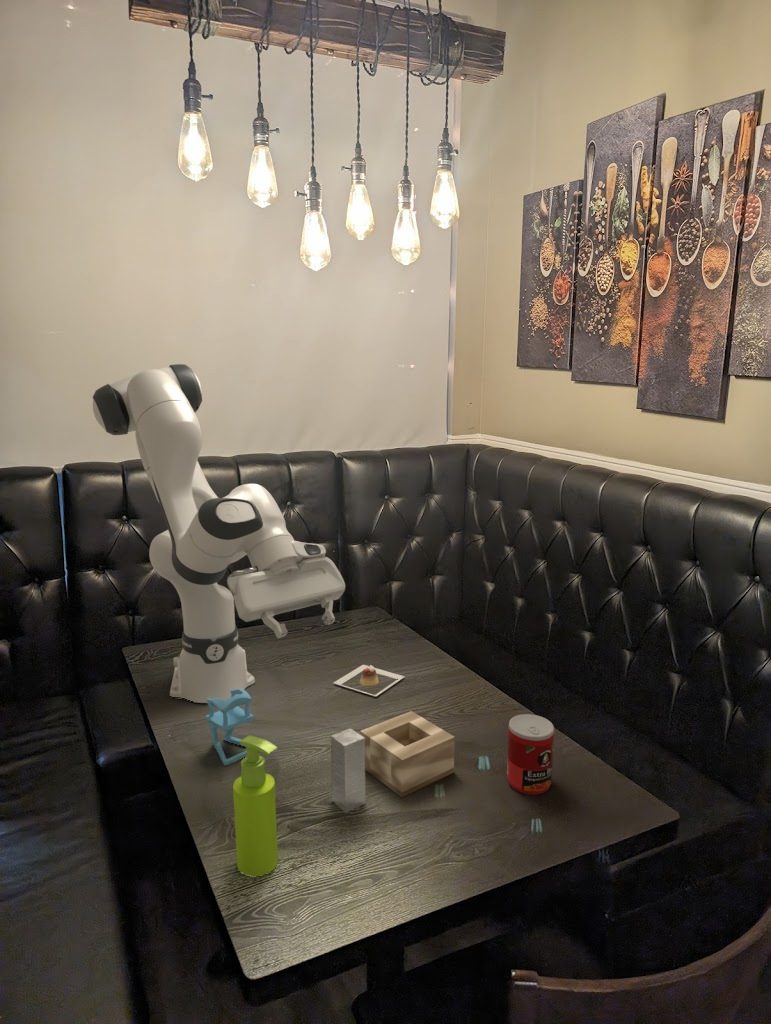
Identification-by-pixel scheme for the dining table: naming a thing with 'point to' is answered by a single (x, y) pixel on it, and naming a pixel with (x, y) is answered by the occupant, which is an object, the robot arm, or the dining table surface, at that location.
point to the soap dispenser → (255, 811)
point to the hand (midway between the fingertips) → (307, 629)
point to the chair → (229, 720)
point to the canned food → (530, 753)
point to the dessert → (368, 677)
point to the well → (408, 752)
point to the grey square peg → (348, 769)
